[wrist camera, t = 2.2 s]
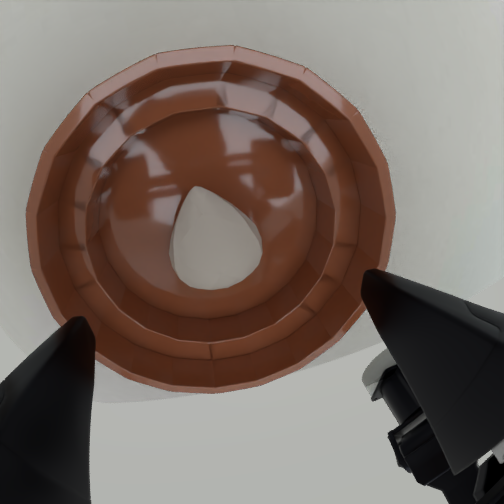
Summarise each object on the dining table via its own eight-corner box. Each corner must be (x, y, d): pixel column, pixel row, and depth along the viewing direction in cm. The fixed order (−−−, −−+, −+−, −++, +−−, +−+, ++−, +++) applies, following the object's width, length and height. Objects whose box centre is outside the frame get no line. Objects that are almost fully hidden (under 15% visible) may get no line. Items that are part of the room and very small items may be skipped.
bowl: (334, 312, 18) (364, 357, 14) (116, 348, 16) (107, 402, 12) (344, 74, 11) (400, 65, 8) (47, 110, 9) (-5, 111, 5)
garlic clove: (185, 281, 14) (186, 310, 12) (151, 195, 12) (142, 211, 10) (262, 257, 15) (275, 282, 13) (239, 167, 12) (249, 176, 10)
